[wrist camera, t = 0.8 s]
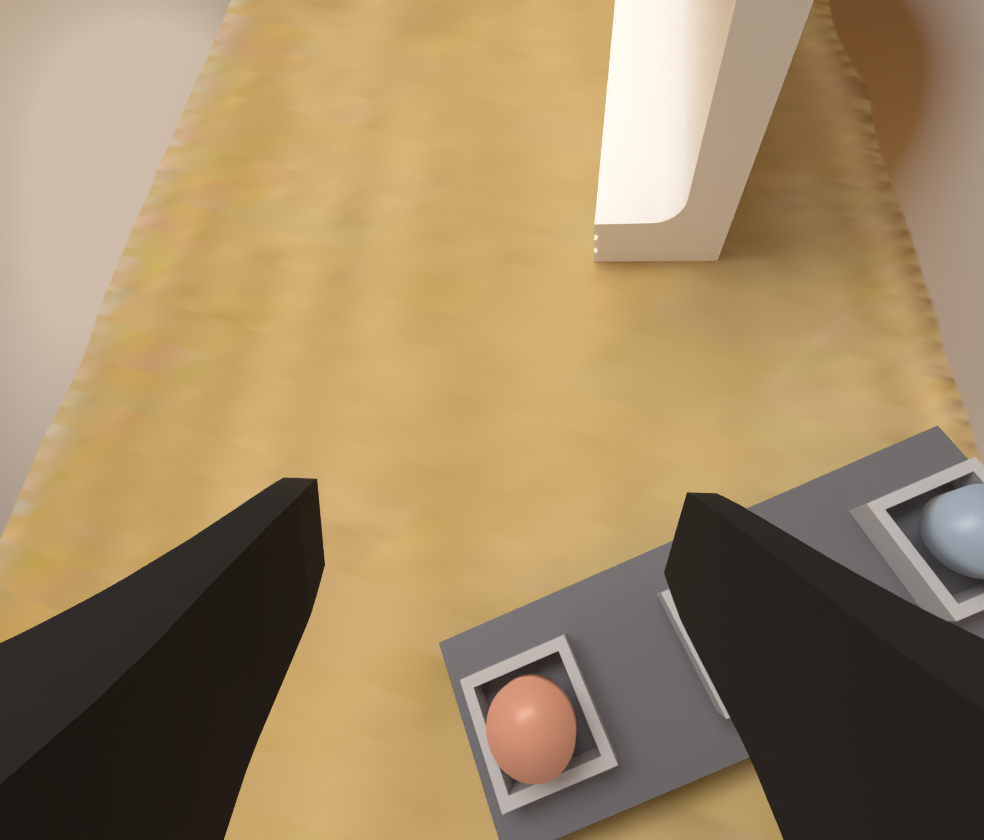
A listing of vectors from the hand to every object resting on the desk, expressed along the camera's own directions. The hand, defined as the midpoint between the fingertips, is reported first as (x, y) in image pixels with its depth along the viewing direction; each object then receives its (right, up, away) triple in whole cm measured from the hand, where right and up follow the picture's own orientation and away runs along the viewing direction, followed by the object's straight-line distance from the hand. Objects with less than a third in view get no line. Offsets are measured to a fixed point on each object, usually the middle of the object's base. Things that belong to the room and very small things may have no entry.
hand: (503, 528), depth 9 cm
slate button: (+20, -3, +10) cm, 23 cm away
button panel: (+11, -8, +14) cm, 20 cm away
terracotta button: (+2, -11, +11) cm, 15 cm away
